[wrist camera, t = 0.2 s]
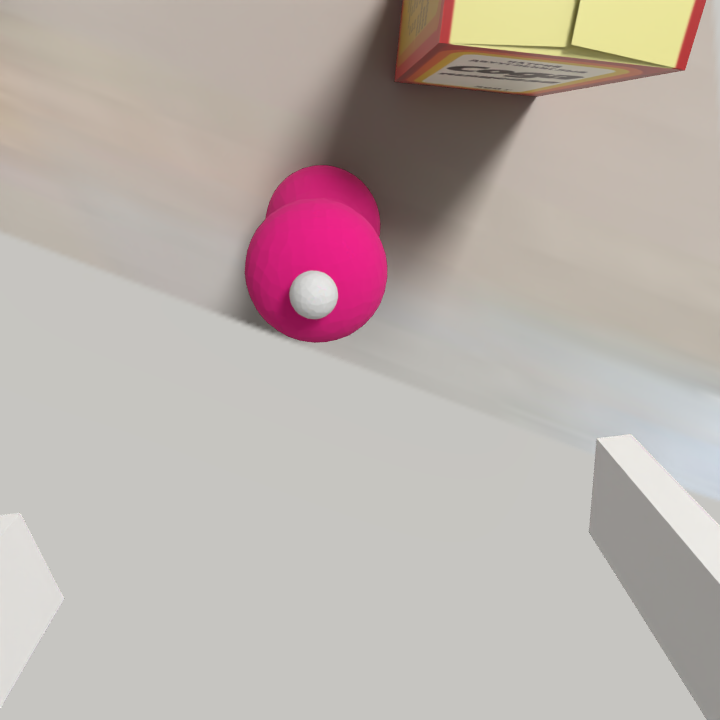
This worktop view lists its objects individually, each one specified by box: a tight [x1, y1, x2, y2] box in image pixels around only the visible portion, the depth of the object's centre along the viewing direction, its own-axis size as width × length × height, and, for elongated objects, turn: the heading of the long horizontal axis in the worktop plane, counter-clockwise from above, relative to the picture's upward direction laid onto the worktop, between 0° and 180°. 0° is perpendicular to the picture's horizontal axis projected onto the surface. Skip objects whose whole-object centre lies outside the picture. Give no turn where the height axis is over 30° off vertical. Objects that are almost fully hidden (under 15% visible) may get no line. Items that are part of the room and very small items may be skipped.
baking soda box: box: [394, 0, 706, 97], centre depth 25 cm, size 10×6×16 cm
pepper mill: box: [245, 165, 387, 343], centre depth 27 cm, size 7×7×20 cm
